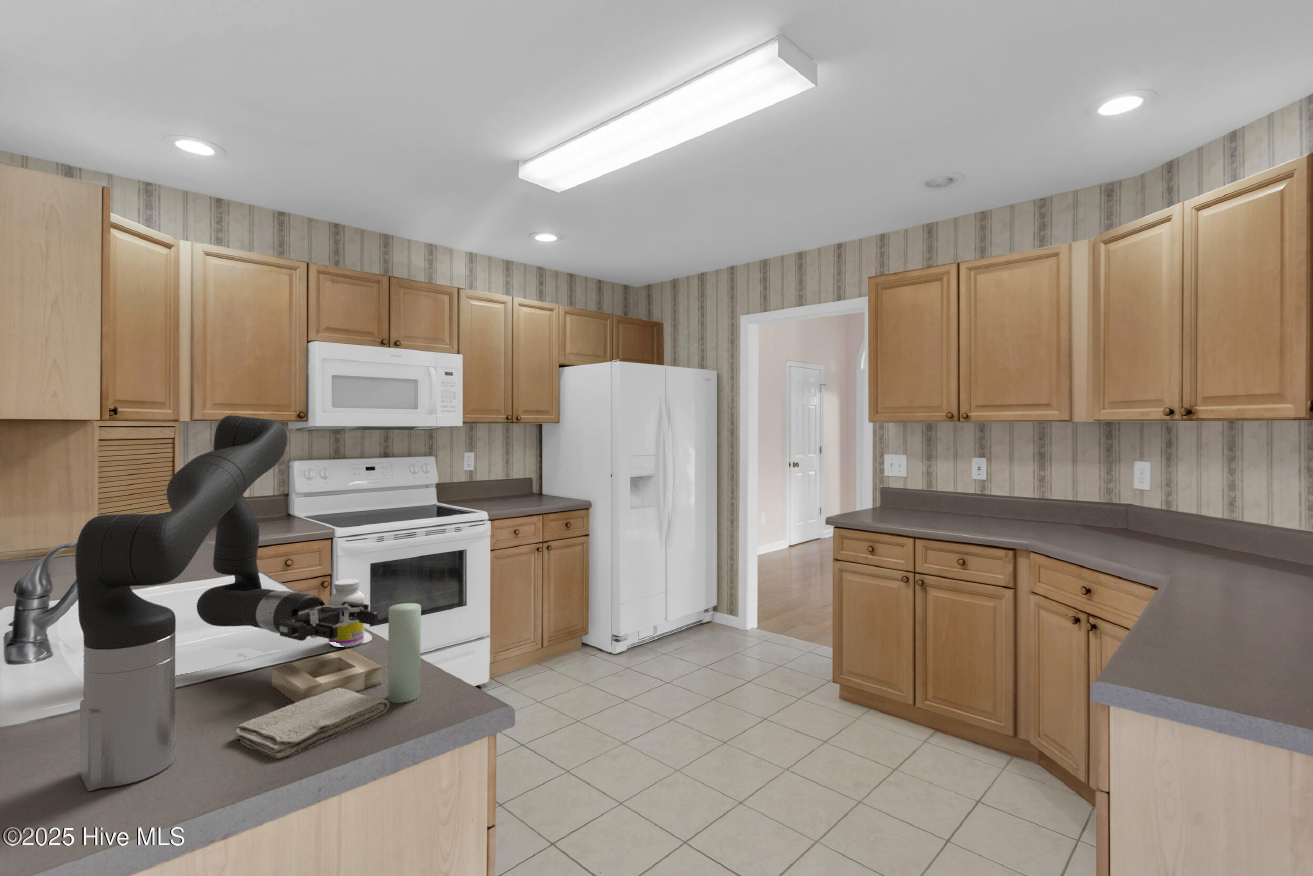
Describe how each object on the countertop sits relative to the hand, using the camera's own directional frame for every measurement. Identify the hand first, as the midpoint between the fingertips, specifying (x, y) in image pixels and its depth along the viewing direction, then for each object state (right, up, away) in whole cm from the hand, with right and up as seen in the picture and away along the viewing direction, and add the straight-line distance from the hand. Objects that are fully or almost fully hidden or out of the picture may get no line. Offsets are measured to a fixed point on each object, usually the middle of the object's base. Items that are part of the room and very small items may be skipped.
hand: (356, 625), depth 111 cm
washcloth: (0, -12, -14) cm, 18 cm away
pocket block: (-5, -10, 0) cm, 12 cm away
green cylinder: (+10, -11, -4) cm, 15 cm away
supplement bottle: (-12, -10, +21) cm, 26 cm away
